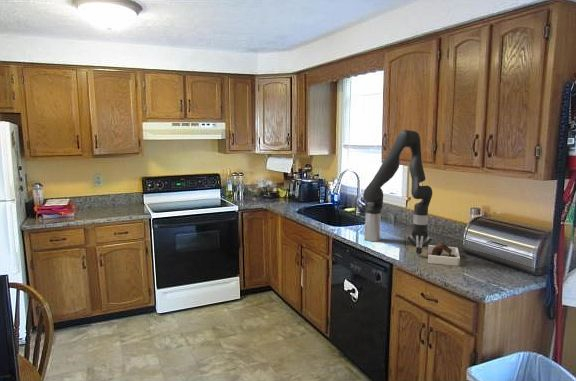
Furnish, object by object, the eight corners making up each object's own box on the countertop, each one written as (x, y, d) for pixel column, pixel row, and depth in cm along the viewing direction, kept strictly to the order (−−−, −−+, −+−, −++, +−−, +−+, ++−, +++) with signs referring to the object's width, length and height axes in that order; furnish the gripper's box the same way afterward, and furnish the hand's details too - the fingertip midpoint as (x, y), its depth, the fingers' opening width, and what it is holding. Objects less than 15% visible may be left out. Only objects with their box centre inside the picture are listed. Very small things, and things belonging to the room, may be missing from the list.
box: (427, 262, 206) (428, 255, 205) (428, 252, 224) (428, 245, 224) (459, 266, 201) (459, 258, 200) (457, 254, 219) (457, 247, 219)
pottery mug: (431, 253, 223) (440, 241, 221) (446, 264, 218) (455, 251, 216) (426, 253, 213) (435, 241, 211) (441, 264, 208) (451, 251, 206)
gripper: (433, 222, 215) (431, 253, 218) (407, 220, 220) (406, 250, 222) (433, 225, 208) (431, 257, 211) (407, 223, 213) (405, 254, 215)
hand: (418, 253), depth 217 cm, fingers closed
